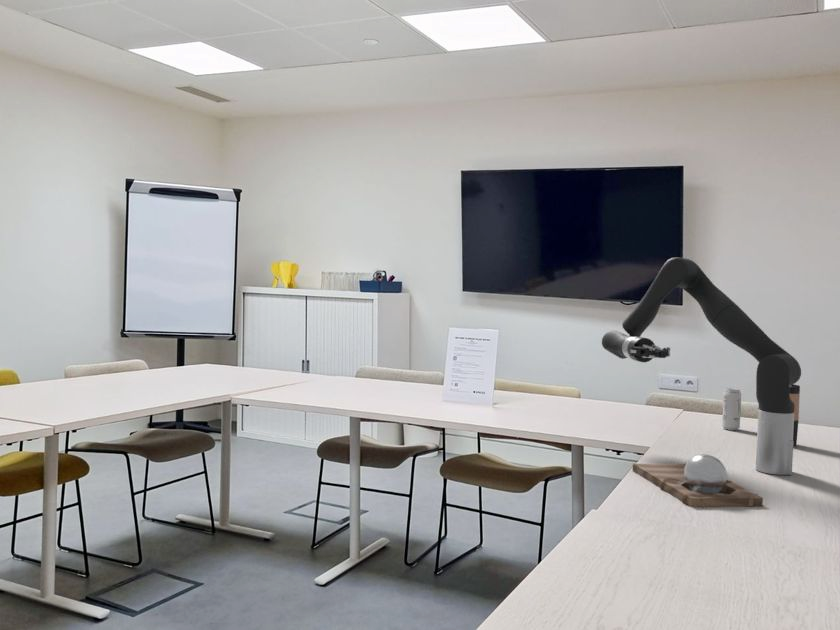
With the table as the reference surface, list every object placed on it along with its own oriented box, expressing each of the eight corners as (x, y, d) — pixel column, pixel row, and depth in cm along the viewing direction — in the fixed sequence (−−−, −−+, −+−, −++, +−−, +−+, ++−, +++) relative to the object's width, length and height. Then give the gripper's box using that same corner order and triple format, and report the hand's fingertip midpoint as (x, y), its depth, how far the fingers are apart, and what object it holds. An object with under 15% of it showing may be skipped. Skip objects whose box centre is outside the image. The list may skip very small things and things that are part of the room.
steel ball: (739, 463, 187) (729, 495, 191) (705, 441, 194) (696, 473, 199) (714, 475, 182) (704, 508, 186) (680, 453, 189) (671, 485, 193)
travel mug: (800, 447, 252) (803, 387, 251) (775, 445, 254) (778, 385, 253) (793, 442, 260) (796, 384, 259) (769, 441, 261) (772, 382, 260)
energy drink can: (737, 431, 278) (739, 390, 277) (720, 429, 281) (722, 388, 280) (740, 429, 283) (742, 388, 282) (723, 427, 286) (725, 387, 285)
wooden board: (630, 470, 213) (630, 463, 213) (695, 470, 215) (695, 463, 215) (689, 507, 179) (689, 498, 179) (765, 506, 181) (766, 498, 181)
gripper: (618, 336, 237) (642, 340, 219) (659, 337, 238) (685, 341, 221) (617, 360, 237) (641, 367, 220) (658, 361, 239) (684, 367, 221)
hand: (663, 354), depth 220 cm, fingers closed
